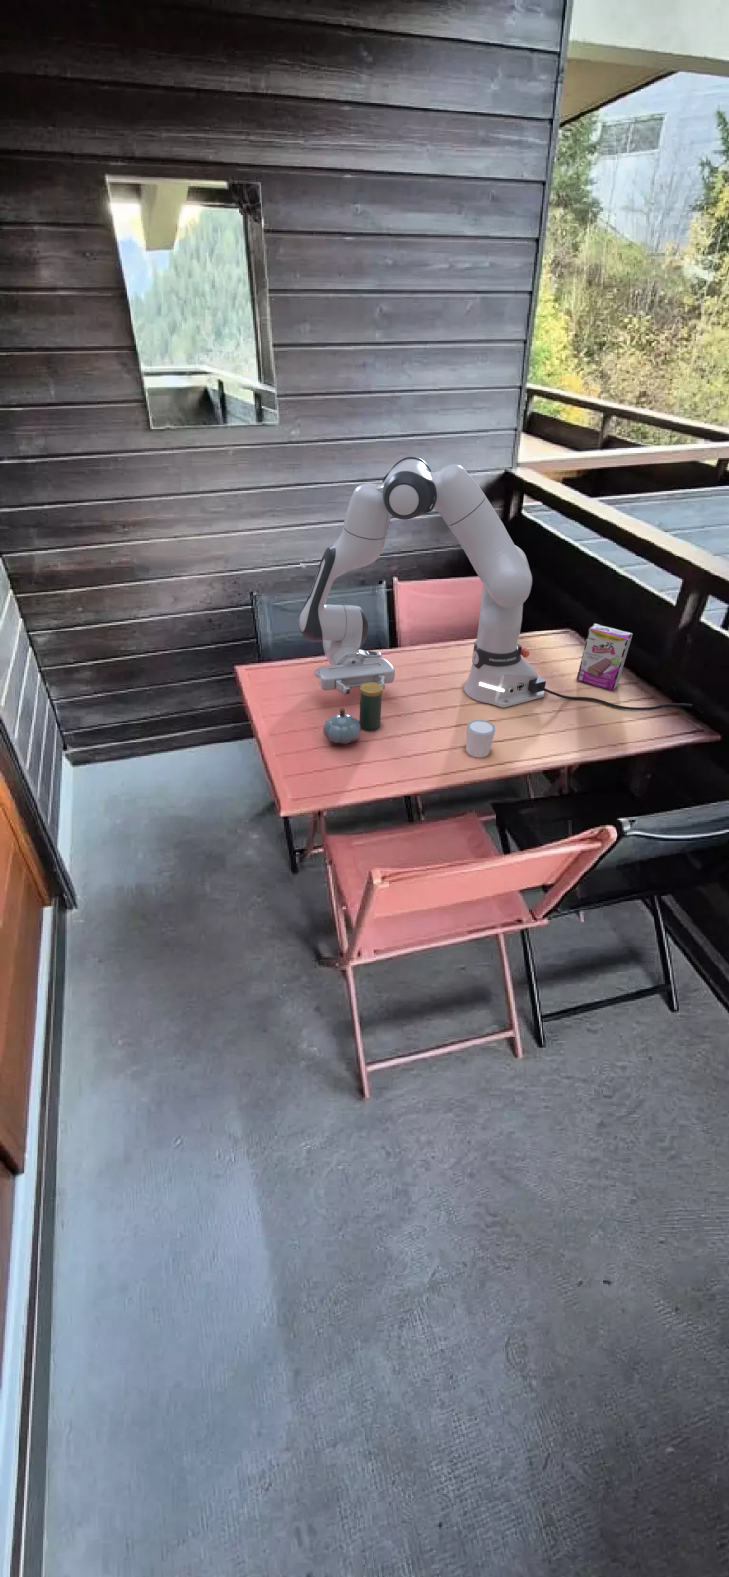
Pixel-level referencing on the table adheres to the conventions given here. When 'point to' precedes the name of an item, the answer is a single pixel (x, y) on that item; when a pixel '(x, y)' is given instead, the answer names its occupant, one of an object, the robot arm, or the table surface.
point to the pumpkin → (342, 728)
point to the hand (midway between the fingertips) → (364, 689)
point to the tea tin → (370, 706)
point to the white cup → (479, 738)
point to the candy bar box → (604, 656)
